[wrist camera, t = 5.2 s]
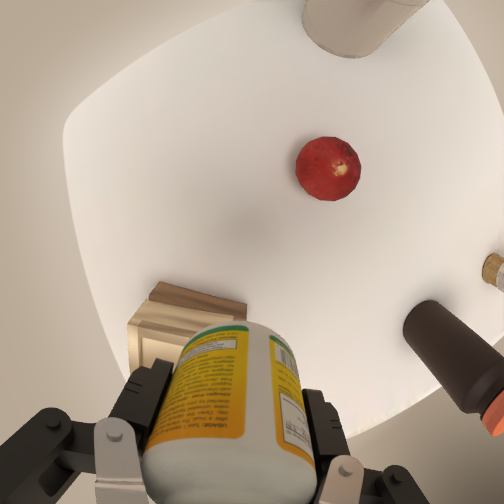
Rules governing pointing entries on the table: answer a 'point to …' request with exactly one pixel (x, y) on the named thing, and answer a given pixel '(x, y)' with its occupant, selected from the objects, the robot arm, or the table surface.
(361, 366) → the table surface
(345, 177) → the onion
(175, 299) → the tower base
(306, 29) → the robot arm
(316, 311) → the table surface
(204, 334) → the supplement bottle
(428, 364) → the vinegar
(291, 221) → the table surface
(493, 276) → the sprinkles bottle
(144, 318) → the tower top
